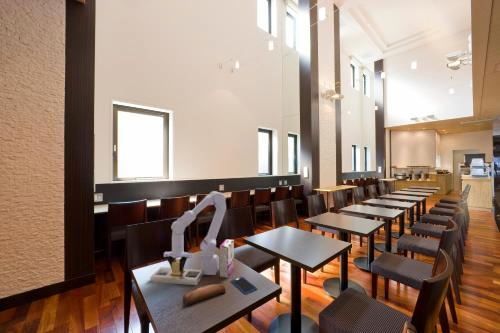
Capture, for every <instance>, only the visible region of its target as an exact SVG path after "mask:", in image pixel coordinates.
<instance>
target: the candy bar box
mask: <svg viewBox="0 0 500 333" xmlns="http://www.w3.org/2000/svg"><path fill="white" fill-rule="evenodd" d="M234 241H235V240H234V239H225V240H224V241H223V242H222V243H221V244H220V246H219V277H220V278H225V279H227V278H228V279H229V277H230V276H231V274H232V273H233V270H234V269H235V266H234V265H235V257H234V256H235V254H234V253H235V247H234V246H235V244H234V243H235V242H234Z"/></svg>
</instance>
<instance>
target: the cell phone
mask: <svg viewBox="0 0 500 333" xmlns="http://www.w3.org/2000/svg"><path fill="white" fill-rule="evenodd" d="M230 282H231V284H233V285H234V286H235V287H236V289H238V290H239V291H240V292H241V293H242V294H243V295H249V294H252V293H253V292H255V291H258V288H257V286H255V285H254V284H253V283H251V282H250V281H248V280H247V279H246V278H245V277H244V276H239V277H237V278H234V279H232V280H230Z"/></svg>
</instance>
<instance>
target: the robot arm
mask: <svg viewBox="0 0 500 333" xmlns="http://www.w3.org/2000/svg"><path fill="white" fill-rule="evenodd" d="M226 200H227V198H226V196H225V195H224V193H222V192H218V191H217V190H213V191H210V192H209V194H207V195H206V196H205V197H204V198H203V199H202V200H201V201H200V202H199V203H198V204H197V205H196V206H195V207H194V208H193V209H192V210H187V211H184V214H183V215H182V216H180V217H179V218H177V219H176V220H175V221H173V222H172V224H171V226H170V229H171V230H172V233H171V251H165V252H163V257H164V258H166V257H168V258H167V260H166V261H167V262H168V263H169V265H170V268H171V269H172V262H173V261H174V260H175V259H177V258H179V259H180V260H179V261H180V272H182V271H183V269H185V265H186V262H187V260H188V259H191V258H193V257H192V256H193V253H192V252H187V251H184V244H185V242H184V237H185V236H184V232H185V230H186V228H187V227H188V226H189V225H190V224H191V223H192V222H193V221H195V219H197V215H198V214H199V213H200V212H201V211H203V210H204V209H205V208H206V207H207V206H213V205H214V207H215V209H216V210H215V212H214V214H213V215H214V216H213V218H212V221H211V223H210V226H209V229H208V231H207V234H206V236H205V237H204V239H203V240H202V242H201V243H200V245H199V249H200V251H201V253H200V270H203V275H205V276H206V275H207V276H209V275H210V276H215V275H216V274H217V272H218V271H219V270H220V256H219V255H218V254H216V246H217V240H216V239H217V236H218V233H219V232H220V228H221V225H222V223H223V220H224V217H225V214H226V211H227V202H226Z"/></svg>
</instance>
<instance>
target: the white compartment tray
mask: <svg viewBox="0 0 500 333" xmlns="http://www.w3.org/2000/svg"><path fill="white" fill-rule="evenodd" d="M202 277H204V274H203V270H201V269H194V268H184V269H183V274H182V276H181V277H179V276H172V269H171V267H164V266H163V267H160V268H159V269H157V270H156V271H155V272H154V273H153V274H151V276H150V278H149V279H150V282H152V283H165V284H166V283H167V284H176V285H177V284H178V285H179V284H180V285H190V286H197V285H198V283H199V282H200V280H201V278H202Z"/></svg>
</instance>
